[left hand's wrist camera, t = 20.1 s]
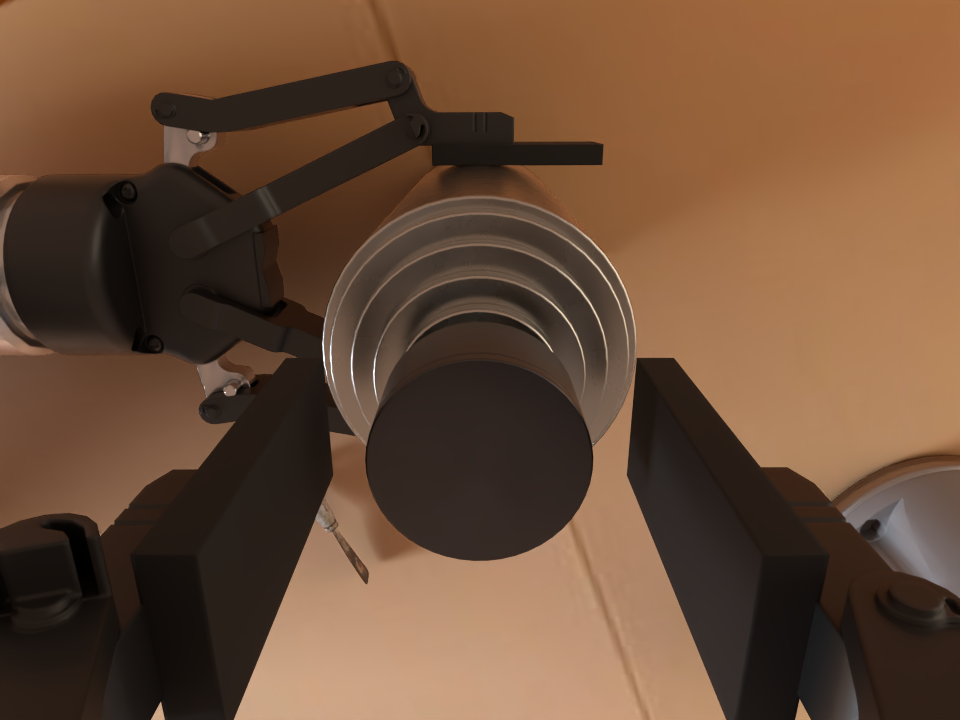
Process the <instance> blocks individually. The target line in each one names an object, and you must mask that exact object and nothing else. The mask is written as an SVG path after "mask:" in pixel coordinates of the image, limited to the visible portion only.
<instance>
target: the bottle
mask: <svg viewBox="0 0 960 720" xmlns="http://www.w3.org/2000/svg"><path fill="white" fill-rule="evenodd" d="M467 322H491V323H499V324H503V325H507V326H511V327H514V328H516V329H519V330H522V331H524V332H526V333H528V334H530V335H531V336H533V337H535V338H536V339H538V340H539V341H541V342H542V343H543V344H545V345H546V346H547V347H548V348H549V349H550V350H551V351H552V352H553V353H554V354H555V355H556V356H557V358H558V359H559V360H560V361H561V363H562V364H563V366H564V367H565V369H566V371H567V373H568V374H569V377H570V379H571V382H572V384H573V387H574V390H575V393H576V396H577V398H578V401H579V404H580V407H581V410H582V413H583V416H584V419H585V422H586V425H587V428H588V431H589V434H590V438H591V442H592V447H593V446H594V445H595V444H596V443H597V442H598V440H599V439H600V438H601V437H602V436H603V435H604V434H605V432H606V431H607V430H608V428H609V427H610V425H611V424H612V423H613V421H614V420H615V418H616V416H617V414H618V413H619V411H620V409H621V407H622V405H623V403H624V401H625V398H626V396H627V393H628V391H629V388H630V385H631V381H632V377H633V373H634V369H635V361H636V351H637V339H636V325H635V319H634V314H633V308H632V305H631V302H630V299H629V296H628V293H627V290H626V288H625V286H624V284H623V282H622V280H621V278H620V276H619V274H618V272H617V270H616V269H615V267H614V266H613V264H612V263H611V262H610V260H609V259H608V257H607V256H606V254H605V253H604V252H603V251H602V250H601V249H600V247H599V246H598V245H597V244H596V243H595V242H594V241H593V240H592V238H591V237H590V236H589V235H588V234H587V233H586V232H585V231H584V230H583V228H582V227H581V226H580V225H579V224H578V223H577V222H576V221H575V219H574V218H573V217H572V216H571V215H570V214H569V213H568V212H567V211H566V209H565V208H564V207H563V206H562V205H561V204H560V203H559V202H558V200H557V199H556V198H555V197H554V196H553V195H552V194H551V193H550V192H549V190H548V189H547V188H546V187H545V186H544V185H543V184H542V183H541V182H540V180H539V179H538V178H537V177H536V176H535V175H534V174H532V173H531V172H530V171H529V170H528V169H526V168H524V167H523V166H521V165H462V166H437V167H435V168H433V169H432V170H431V171H430V172H428V173H427V174H426V175H425V176H424V177H423V178H422V179H421V180H420V181H419V182H418V183H417V184H416V185H415V186H414V187H413V188H412V190H411V191H410V192H409V193H408V194H407V195H406V196H405V197H404V198H403V200H402V201H401V202H400V203H399V204H398V205H397V206H396V207H395V208H394V209H393V211H392V212H391V213H390V214H389V215H388V216H387V217H386V218H385V219H384V221H383V222H382V223H381V224H380V225H379V226H378V227H377V228H376V229H375V231H374V232H373V233H372V234H371V235H370V236H369V237H368V238H367V239H366V241H365V242H364V243H363V244H362V245H361V246H360V247H359V248H358V249H357V250H356V252H355V253H354V254H353V256H352V257H351V259H350V260H349V261H348V263H347V264H346V266H345V267H344V268H343V270H342V272H341V274H340V276H339V278H338V280H337V282H336V284H335V285H334V288H333V291H332V293H331V296H330V299H329V302H328V305H327V309H326V314H325V319H324V323H323V337H322V350H323V363H324V368H325V373H326V377H327V382H328V385H329V388H330V390H331V393H332V396H333V399H334V401H335V403H336V405H337V407H338V409H339V411H340V413H341V415H342V417H343V418H344V420H345V421H346V422H347V424H348V425H349V427H350V428H351V430H352V431H353V433H354V434H355V435H356V436H357V437H358V438H359V439H360V440H361V442H362V443H363V444H364V445H365V446H366V445H367V441H368V436H369V432H370V429H371V427H372V424H373V421H374V418H375V415H376V412H377V409H378V406H379V403H380V401H381V398H382V395H383V392H384V389H385V386H386V384H387V381H388V378H389V376H390V374H391V372H392V370H393V369H394V367H395V365H396V364H397V362H398V361H399V360H400V358H401V357H402V356H403V355H404V354H405V353H406V352H407V351H408V350H409V349H410V348H411V347H412V346H413V345H414V344H416V343H417V342H418V341H419V340H421V339H422V338H424V337H426V336H427V335H429V334H431V333H433V332H435V331H437V330H440V329H442V328H445V327H448V326H452V325H455V324H460V323H467Z"/></svg>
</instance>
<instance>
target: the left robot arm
mask: <svg viewBox="0 0 960 720" xmlns="http://www.w3.org/2000/svg"><path fill="white" fill-rule="evenodd" d="M332 477H333V468H332V457H331V445H330V433H329V421H328V410H327V398H326V386H325V374H324V363H323V358H286V359H285V360H284V361H283V363H282V364H281V365H280V366H279V368H278V369H277V370H276V372H275V373H274V374H273V375H272V377H271V378H270V379H269V380H268V382H267V383H266V384H265V385H264V387H263V388H262V389H261V390H260V392H259V393H258V394H257V395H256V397H255V398H254V399H253V401H252V402H251V403H250V404H249V406H248V407H247V408H246V409H245V411H244V412H243V413H242V414H241V416H240V417H239V418H238V419H237V421H236V422H235V423H234V424H233V426H232V427H231V428H230V429H229V431H228V432H227V433H226V435H225V436H224V437H223V438H222V440H221V441H220V442H219V443H218V445H217V446H216V447H215V448H214V450H213V451H212V452H211V453H210V455H209V456H208V457H207V458H206V460H205V461H204V462H203V464H202V465H201V466H200V467H199V469H198V470H172V471H170V472H168V473H167V474H165V475H163V476H162V477H160V478H158V479H157V480H155V481H153V482H152V483H150V484H148V485H147V486H145V488H144V489H143V490H142V491H141V492H140V493H139V494H138V495H137V496H136V498H135V499H134V500H133V501H132V502H131V503H130V504H129V509H125V510H124V511H123V512H122V513H121V514H120V515H119V517H118V518H117V519H116V520H115V524H114V525H110V527H109V528H108V529H107V530H106V531H105V532H104V533H103V534H102V535H101V537H100V535H99V530H98V526H97V523H95V522H94V521H93V520H91V519H90V518H89V517H87V516H83V515H77V514H71V513H63V514H49V515H42V516H38V517H34V518H30V519H26V520H22V521H19V522H16V523H14V524H11V525H9V526H6V527H4V528H1V529H0V720H151V718H152V717H153V715H154V713H155V711H156V709H157V707H158V705H159V704H160V702H161V703H162V708H163V713H164V717H165V720H234V718H235V715H236V713H237V710H238V708H239V705H240V703H241V700H242V698H243V695H244V693H245V691H246V688H247V686H248V683H249V681H250V678H251V676H252V673H253V671H254V668H255V666H256V663H257V661H258V659H259V656H260V654H261V651H262V649H263V646H264V644H265V641H266V639H267V636H268V634H269V631H270V629H271V627H272V624H273V622H274V619H275V617H276V614H277V612H278V609H279V607H280V604H281V602H282V599H283V597H284V595H285V592H286V590H287V587H288V585H289V582H290V580H291V577H292V575H293V572H294V570H295V568H296V565H297V563H298V560H299V558H300V555H301V553H302V550H303V548H304V545H305V543H306V540H307V538H308V536H309V533H310V531H311V528H312V526H313V523H314V521H315V518H316V516H317V513H318V511H319V508H320V506H321V504H322V501H323V499H324V496H325V494H326V491H327V489H328V486H329V484H330V481H331V479H332ZM627 477H628V479H629V481H630V484H631V486H632V489H633V491H634V494H635V496H636V499H637V501H638V504H639V506H640V508H641V511H642V513H643V516H644V518H645V521H646V523H647V526H648V528H649V531H650V533H651V536H652V538H653V540H654V543H655V545H656V548H657V550H658V553H659V555H660V558H661V560H662V563H663V565H664V568H665V570H666V572H667V575H668V577H669V580H670V582H671V585H672V587H673V590H674V592H675V595H676V597H677V600H678V602H679V604H680V607H681V609H682V612H683V614H684V617H685V619H686V622H687V624H688V627H689V629H690V631H691V634H692V636H693V639H694V641H695V644H696V646H697V649H698V651H699V654H700V656H701V659H702V661H703V663H704V666H705V668H706V671H707V673H708V676H709V678H710V681H711V683H712V686H713V688H714V691H715V693H716V695H717V698H718V700H719V703H720V705H721V708H722V710H723V713H724V715H725V718H726V720H795V717H796V713H797V708H798V703H799V699H800V700H801V702H802V704H803V706H804V707H805V709H806V711H807V713H808V715H809V717H810V718H811V720H960V456H952V455H947V456H931V457H923V458H918V459H912V460H908V461H905V462H901V463H898V464H895V465H892V466H889V467H886V468H884V469H882V470H880V471H877V472H875V473H873V474H871V475H869V476H867V477H865V478H864V479H862V480H860V481H858V482H857V483H855V484H854V485H852V486H851V487H849V488H848V489H847V490H845V491H844V492H843V493H841V494H840V495H839V496H838V497H837V498H836V499H834V500H833V501H832V502H831V501H830V500H829V499H828V498H827V497H826V496H825V495H824V494H823V493H822V491H821V490H820V489H819V488H818V487H817V486H816V485H815V484H814V483H813V482H811V481H809V480H808V479H806V478H804V477H803V476H801V475H799V474H797V473H796V472H794V471H792V470H791V469H789V468H787V467H760V466H759V465H758V464H757V462H756V461H755V460H754V458H753V457H752V456H751V455H750V453H749V452H748V451H747V450H746V448H745V447H744V446H743V445H742V443H741V442H740V441H739V440H738V438H737V437H736V436H735V435H734V433H733V432H732V431H731V429H730V428H729V427H728V426H727V424H726V423H725V422H724V421H723V419H722V418H721V417H720V416H719V414H718V413H717V412H716V411H715V409H714V408H713V407H712V406H711V404H710V403H709V402H708V401H707V399H706V398H705V397H704V395H703V394H702V393H701V392H700V390H699V389H698V388H697V387H696V385H695V384H694V383H693V382H692V380H691V379H690V378H689V377H688V375H687V374H686V373H685V372H684V370H683V369H682V368H681V366H680V365H679V364H678V363H677V361H676V360H675V359H674V358H637V363H636V374H635V386H634V398H633V410H632V421H631V433H630V445H629V457H628V468H627Z"/></svg>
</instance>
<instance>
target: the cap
mask: <svg viewBox="0 0 960 720" xmlns="http://www.w3.org/2000/svg"><path fill="white" fill-rule="evenodd" d="M365 462H366V474H367V478H368V482H369V486H370V489H371V492H372V494H373V497H374V499H375V501H376V503H377V504H378V506H379V508H380V510H381V511H382V513H383V514H384V515H385V517H386V518H387V519H388V521H389V522H390V523H391V524H392V525H393V526H394V527H395V528H396V529H397V530H398V531H399V532H400V533H402V534H403V535H404V536H406V537H407V538H408V539H409V540H411V541H413V542H414V543H416V544H418V545H419V546H421V547H423V548H425V549H427V550H429V551H432V552H434V553H437V554H440V555H443V556H446V557H451V558H456V559H461V560H471V561H488V560H497V559H503V558H508V557H512V556H516V555H519V554H521V553H524V552H527V551H529V550H531V549H533V548H535V547H537V546H539V545H541V544H543V543H544V542H546V541H547V540H549V539H551V538H552V537H553V536H554V535H556V534H557V533H558V532H559V531H560V530H562V529H563V528H564V527H565V525H566V524H567V523H568V522H569V521H570V520H571V519H572V518H573V516H574V515H575V513H576V512H577V510H578V509H579V508H580V506H581V504H582V502H583V500H584V498H585V496H586V493H587V490H588V488H589V485H590V481H591V476H592V471H593V450H592V442H591V438H590V434H589V431H588V428H587V425H586V422H585V419H584V416H583V413H582V410H581V407H580V404H579V401H578V398H577V396H576V393H575V390H574V387H573V384H572V382H571V379H570V377H569V374H568V373H567V371H566V369H565V367H564V366H563V364H562V363H561V361H560V360H559V359H558V358H557V356H556V355H555V354H554V353H553V352H552V351H551V350H550V349H549V348H548V347H547V346H546V345H545V344H543V343H542V342H541V341H539V340H538V339H536V338H535V337H533V336H531V335H530V334H528V333H526V332H524V331H522V330H519V329H516V328H514V327H511V326H507V325H503V324H499V323H491V322H467V323H460V324H455V325H452V326H448V327H445V328H442V329H440V330H437V331H435V332H433V333H431V334H429V335H427V336H426V337H424V338H422V339H421V340H419V341H418V342H417V343H416V344H414V345H413V346H412V347H411V348H410V349H409V350H408V351H407V352H406V353H405V354H404V355H403V356H402V357H401V358H400V360H399V361H398V362H397V364H396V365H395V367H394V369H393V370H392V372H391V374H390V376H389V378H388V381H387V384H386V386H385V389H384V392H383V395H382V398H381V401H380V403H379V406H378V409H377V412H376V415H375V418H374V421H373V424H372V427H371V429H370V432H369V436H368V441H367V445H366V457H365Z"/></svg>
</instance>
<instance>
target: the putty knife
mask: <svg viewBox="0 0 960 720" xmlns="http://www.w3.org/2000/svg"><path fill="white" fill-rule="evenodd" d="M315 519H316V520H317V521H318V523H319V524H320V525H321V526H322V527H324V528H325V529H326V531H327V532H333V533H334V535H335V537H336V539H337V540H338V542H339V544H340V545H341V547H342V549H343V550H344V552H345V554H346V555H347V557H348V559H349V560H350V562H351V563H352V565H353V566H354V568H355V569H356V571H357V572H358V574H359V575H360V577H361V578H362V580H363V581H364V582H365V584H367V583H368V577H369V576H368V575H369V573H368V570H367V568H366V567H365V565H364V564H363V563H362V562H361V560H360V559H359V558H358V556H357V555H356V554H355V552H354V551H353V550H352V548H351V547H350V545H349V544H348V543H347V541H346V540H345V539H344V538H343V536H342V535H341V534H340V533H339V531H338V530H337V529H336V528H337V527H338V523H337V521H336V519H335V517H334V515H333V513H332V511H331V509H330V507H329V505H328V503H327V502H326V500H325V498H324V499H323V501H322V504H321V506H320V508H319V511H318V513H317V516H316V518H315Z"/></svg>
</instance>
